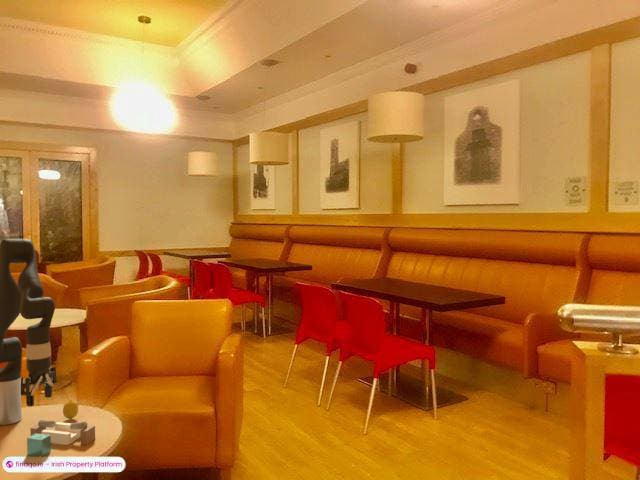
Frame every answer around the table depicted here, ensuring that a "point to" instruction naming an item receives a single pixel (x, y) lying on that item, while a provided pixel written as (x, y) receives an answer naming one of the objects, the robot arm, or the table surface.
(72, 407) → the lemon
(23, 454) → the table surface
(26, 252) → the robot arm
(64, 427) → the shaft rig
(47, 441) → the green rectangular block
